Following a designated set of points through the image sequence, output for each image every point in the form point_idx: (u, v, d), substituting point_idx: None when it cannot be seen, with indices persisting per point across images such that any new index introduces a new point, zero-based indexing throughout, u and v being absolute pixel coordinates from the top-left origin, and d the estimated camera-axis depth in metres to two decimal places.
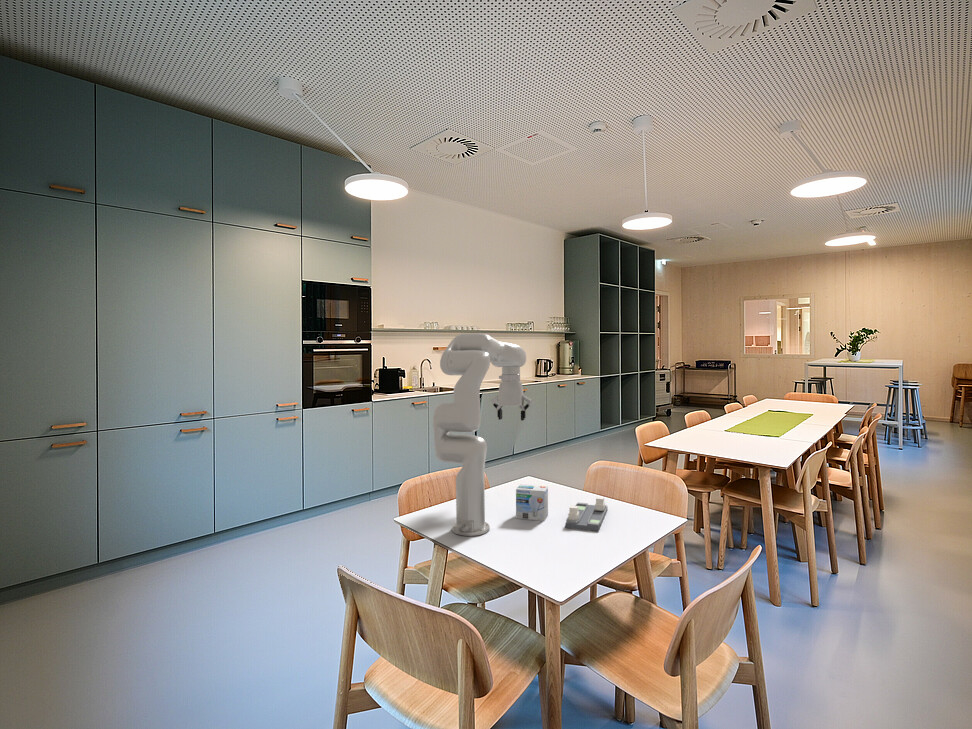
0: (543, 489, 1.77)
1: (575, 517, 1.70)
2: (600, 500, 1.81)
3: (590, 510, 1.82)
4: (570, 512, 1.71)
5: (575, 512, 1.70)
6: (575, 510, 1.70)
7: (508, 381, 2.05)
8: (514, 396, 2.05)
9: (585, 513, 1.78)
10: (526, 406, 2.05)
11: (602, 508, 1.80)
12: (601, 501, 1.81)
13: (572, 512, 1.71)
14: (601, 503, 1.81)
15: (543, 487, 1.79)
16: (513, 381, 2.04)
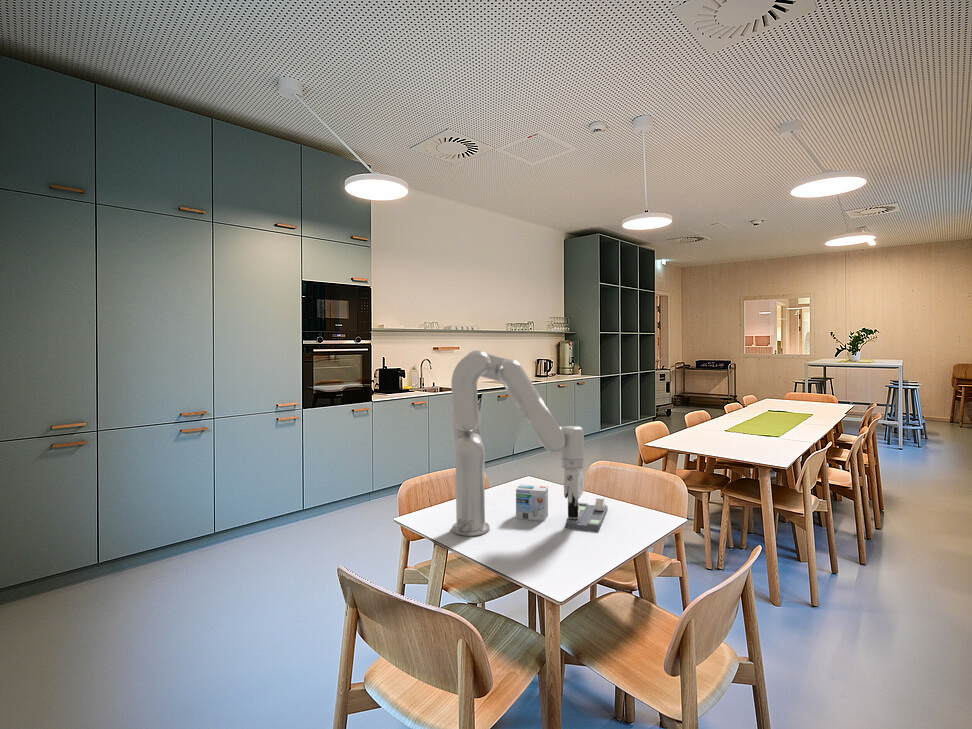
0: (543, 489, 1.77)
1: None
2: (600, 500, 1.81)
3: (590, 510, 1.82)
4: None
5: None
6: None
7: (583, 466, 1.68)
8: (582, 482, 1.71)
9: (585, 513, 1.78)
10: None
11: (602, 508, 1.80)
12: (601, 501, 1.81)
13: None
14: (601, 503, 1.81)
15: (543, 487, 1.79)
16: None
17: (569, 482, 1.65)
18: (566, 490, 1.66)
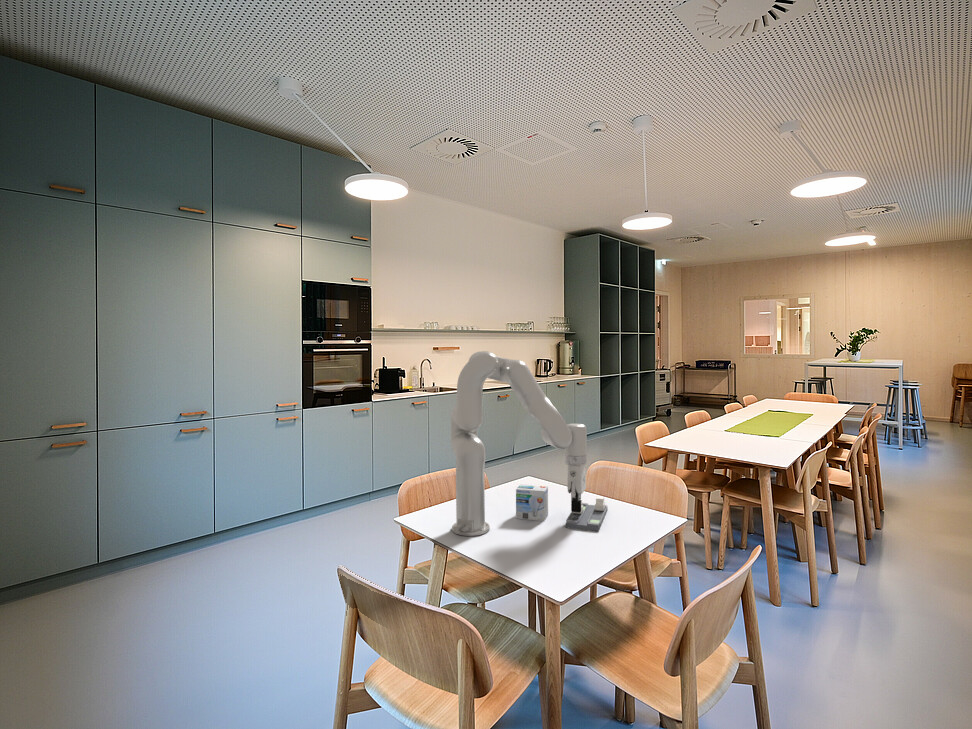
0: (543, 489, 1.77)
1: None
2: (600, 500, 1.81)
3: (590, 510, 1.82)
4: None
5: None
6: None
7: (586, 462, 1.74)
8: (585, 478, 1.76)
9: (585, 513, 1.78)
10: None
11: (602, 508, 1.80)
12: (601, 501, 1.81)
13: None
14: (601, 503, 1.81)
15: (543, 487, 1.79)
16: None
17: (572, 478, 1.71)
18: (569, 485, 1.71)
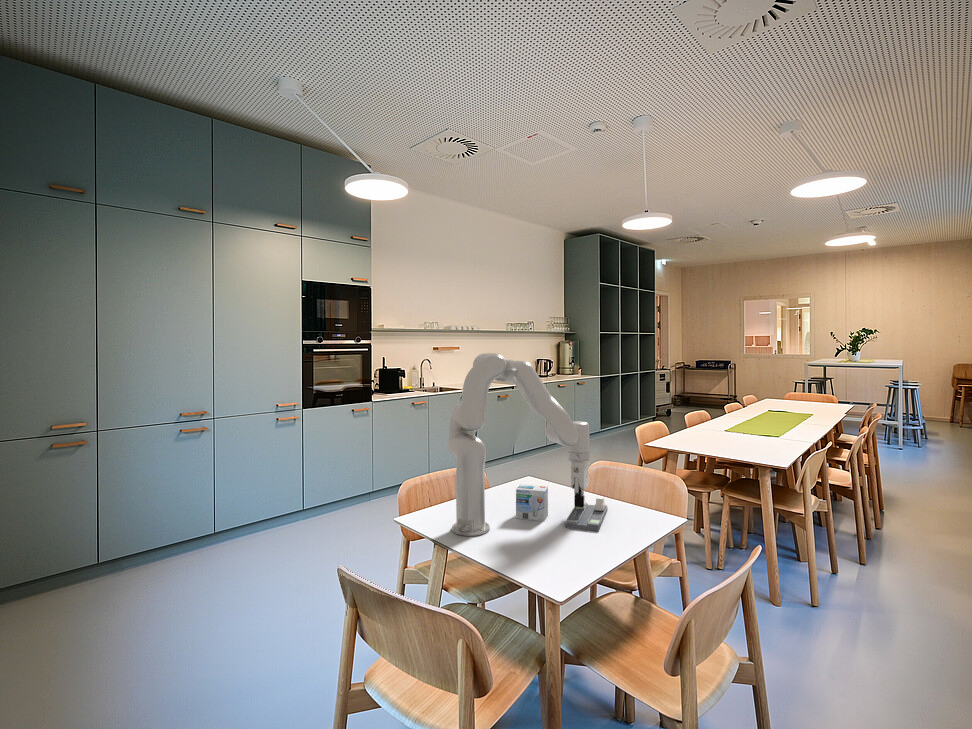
0: (543, 489, 1.77)
1: None
2: (600, 500, 1.81)
3: (590, 510, 1.82)
4: None
5: None
6: None
7: (589, 459, 1.79)
8: (587, 474, 1.82)
9: (585, 513, 1.78)
10: (582, 489, 1.83)
11: (602, 508, 1.80)
12: (601, 501, 1.81)
13: None
14: (601, 503, 1.81)
15: (543, 487, 1.79)
16: None
17: (576, 474, 1.76)
18: (573, 481, 1.77)
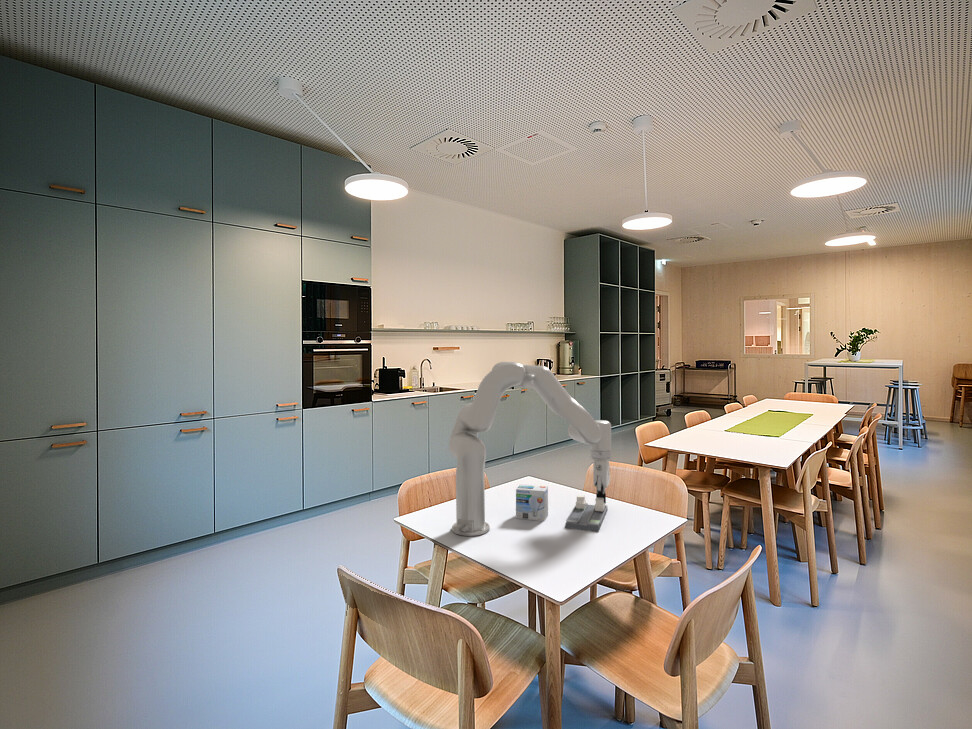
0: (543, 489, 1.77)
1: (582, 505, 1.82)
2: (600, 501, 1.80)
3: (590, 510, 1.82)
4: (577, 501, 1.84)
5: (582, 501, 1.83)
6: (582, 499, 1.83)
7: None
8: (609, 472, 1.85)
9: (585, 513, 1.78)
10: None
11: (602, 509, 1.79)
12: (601, 502, 1.80)
13: (579, 501, 1.83)
14: (601, 504, 1.80)
15: (543, 487, 1.79)
16: None
17: (598, 472, 1.80)
18: (595, 479, 1.80)
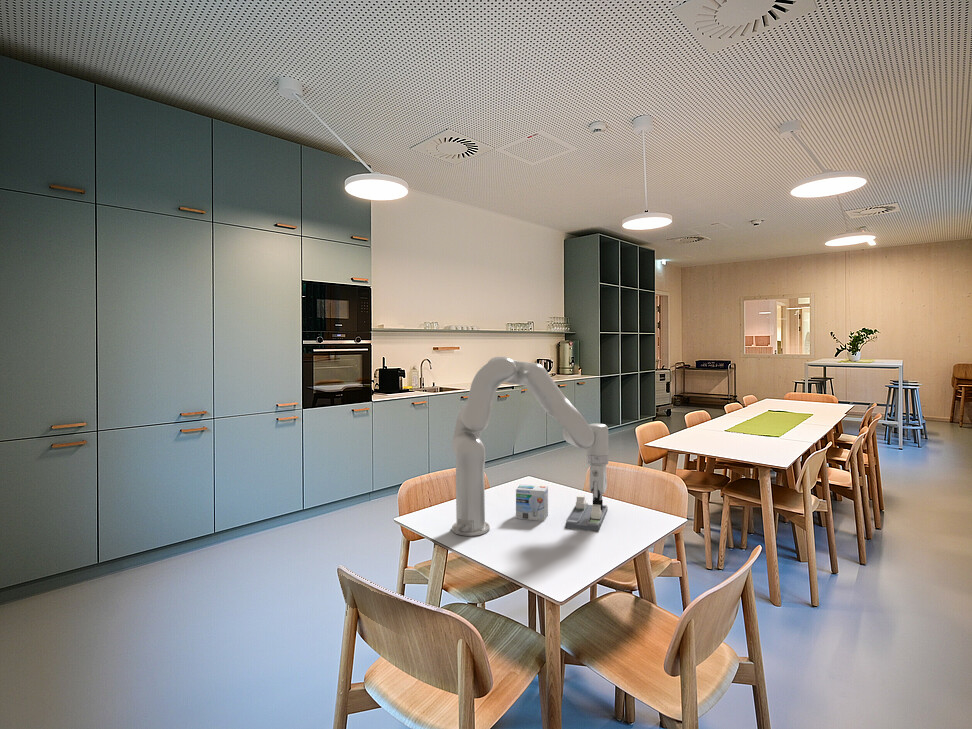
0: (543, 489, 1.77)
1: (582, 505, 1.82)
2: (596, 508, 1.72)
3: (590, 510, 1.82)
4: (577, 501, 1.84)
5: (582, 501, 1.83)
6: (582, 499, 1.83)
7: None
8: (606, 478, 1.77)
9: (585, 513, 1.78)
10: None
11: (598, 516, 1.71)
12: (597, 509, 1.72)
13: (579, 501, 1.83)
14: (597, 511, 1.72)
15: (543, 487, 1.79)
16: None
17: (595, 477, 1.72)
18: (592, 485, 1.72)
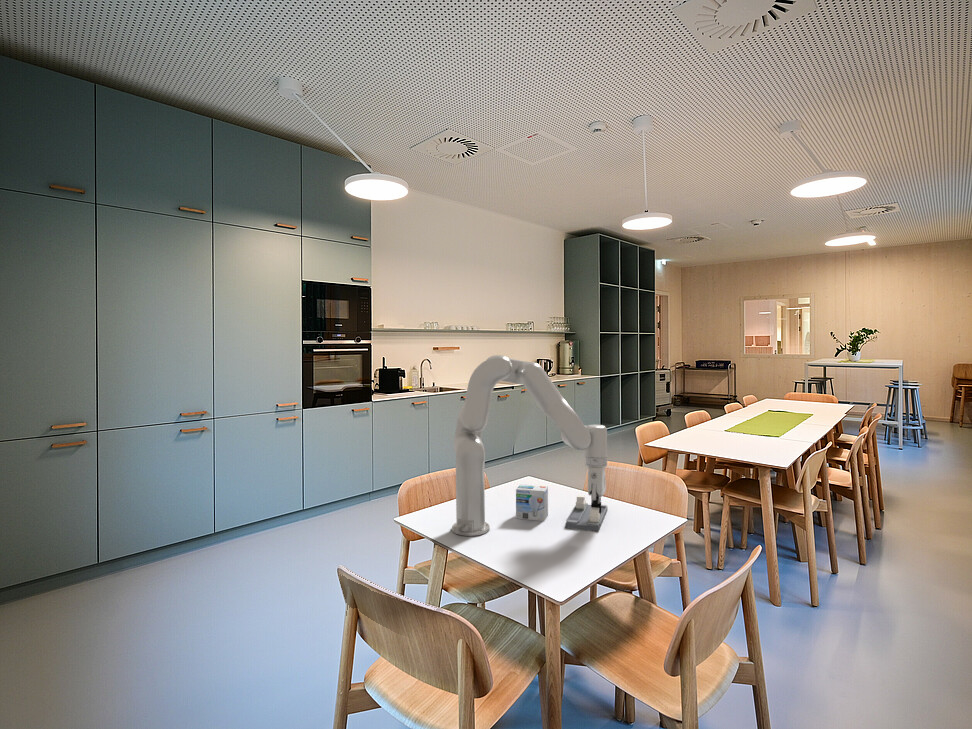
0: (543, 489, 1.77)
1: (582, 505, 1.82)
2: (595, 511, 1.69)
3: None
4: (577, 501, 1.84)
5: (582, 501, 1.83)
6: (582, 499, 1.83)
7: (606, 464, 1.71)
8: None
9: (585, 513, 1.78)
10: None
11: (597, 520, 1.68)
12: (596, 512, 1.68)
13: (579, 501, 1.83)
14: (596, 514, 1.68)
15: (543, 487, 1.79)
16: None
17: (593, 480, 1.68)
18: (590, 488, 1.69)
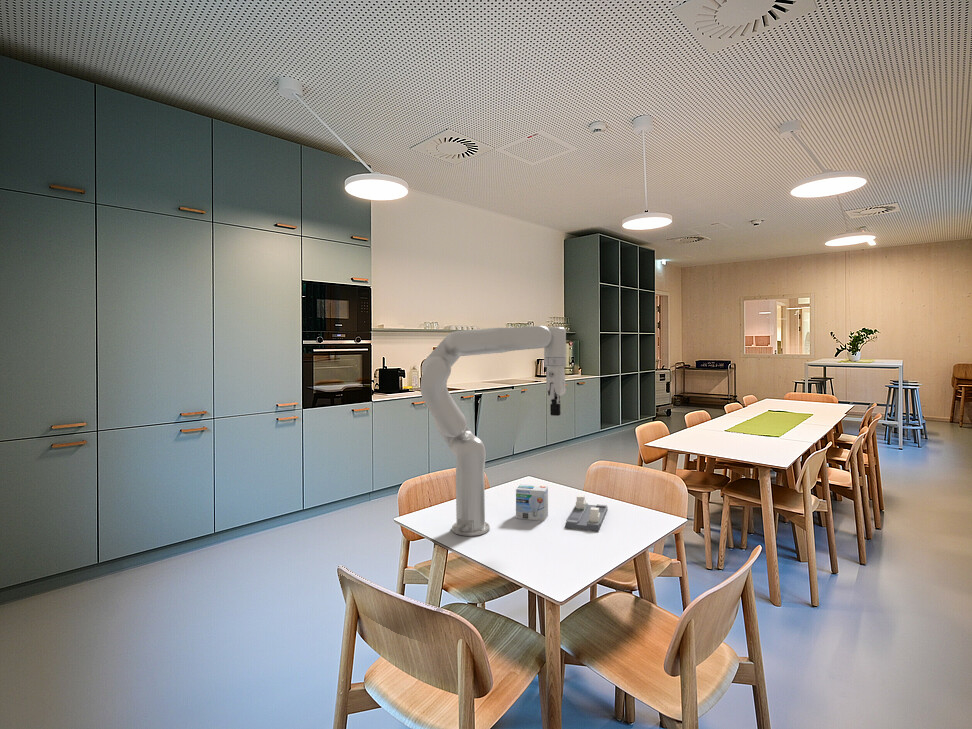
0: (543, 489, 1.77)
1: (582, 505, 1.82)
2: (595, 511, 1.69)
3: None
4: (577, 501, 1.84)
5: (582, 501, 1.83)
6: (582, 499, 1.83)
7: (565, 365, 1.73)
8: (564, 382, 1.75)
9: (585, 513, 1.78)
10: None
11: (597, 520, 1.68)
12: (596, 512, 1.68)
13: (579, 501, 1.83)
14: (596, 514, 1.68)
15: (543, 487, 1.79)
16: None
17: (551, 379, 1.70)
18: (548, 387, 1.70)
